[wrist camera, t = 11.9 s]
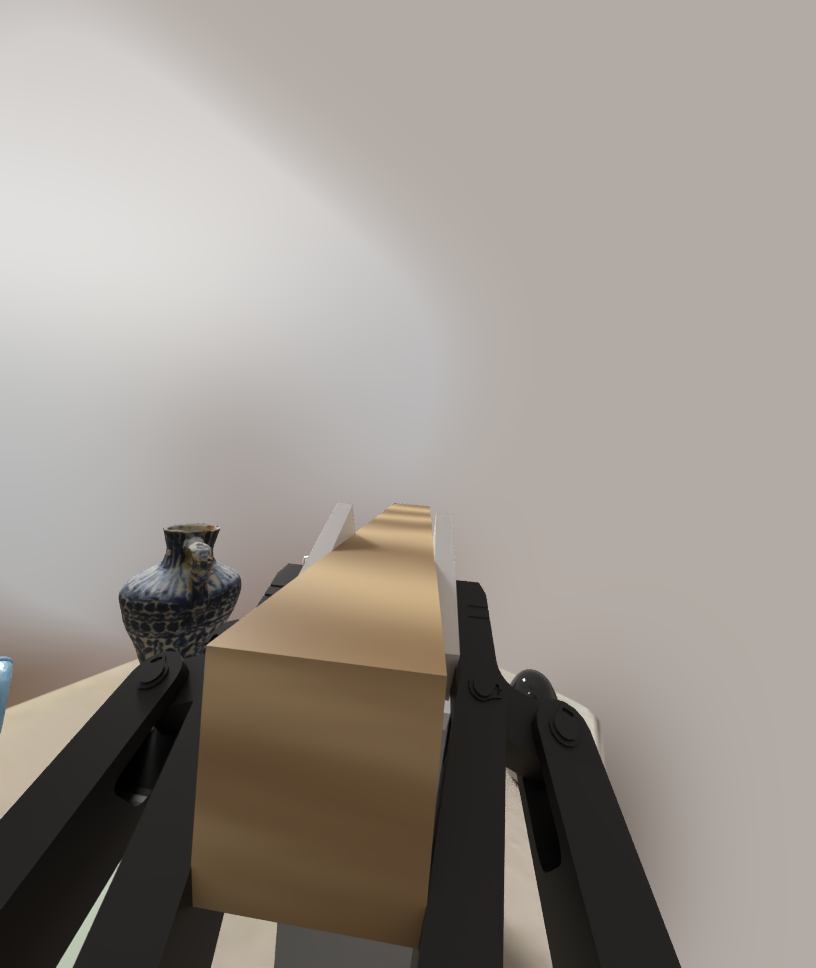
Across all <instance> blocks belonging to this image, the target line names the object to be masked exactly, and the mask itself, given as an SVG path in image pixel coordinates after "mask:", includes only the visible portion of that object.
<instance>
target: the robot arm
mask: <svg viewBox="0 0 816 968" xmlns="http://www.w3.org/2000/svg"><path fill="white" fill-rule="evenodd" d="M353 534H355V528H354V514H353V504H345V503H337V504H336V506H335V508H334V510H333V512H332V514H331V516H330V517H329V519H328V521H327V523H326V525H325V527H324V529H323V530H322V532H321V534H320V536H319V538H318V540H317V542H316V543H315V545H314V547H313V549H312V551H311V553H310V555H309V556H308V558H307V560H306V562H305V564H304V565H297V564H288V565H286V566H285V567H284V568H283V569H282V570H281V571H279V572H278V573H277V575H276V576H275V578H274V580H273V581H272V583H271V586H270V587H269V588H268V589H267V591H266V592H265V596H263V597H262V599H261V601H260V602H259V604H258V606H259V605H260V604H262V603H263V602H264V601H266V600H267V599H268V598H270V597H271V596H272V595H274V594H275V593H276V592H278V591H279V590H280V589H282V588H283V587H284V586H286V585H287V584H288V583H290V582H291V581H292V580H293V579H295V578H296V577H297V576H299V575H300V574H301V573H303V572H304V571H305V570H307V569H308V568H309V567H311V566H312V565H313V564H315V563H316V562H317V561H319V560H320V559H321V558H323V557H324V556H325V555H327V554H328V553H329V552H331V551H332V550H334V549H335V548H336V547H338V546H339V545H340V544H342V543H343V542H344V541H346V540H347V539H348V538H350V537H351V536H352V535H353ZM433 548H434V559H435V564H436V573H437V583H438V593H439V602H440V612H441V622H442V631H443V641H444V651H445V661H446V670H447V683H446V694H445V700H446V701H449V698H450V716H449V720H448V724H447V728H446V730H447V733H446V740H445V746H444V752H443V759H442V765H441V772H440V778H439V785H438V791H437V798H436V807H435V818H434V829H433V841H432V852H431V863H430V874H429V886H428V897H427V907H426V910H425V915H424V920H423V925H422V931H421V936H420V941H419V946H418V949H416V948H413V952H412V958H411V965H410V968H503V928H504V853H505V778H506V768H508V769H510V770H512V771H513V772H515V773H516V775H517V780H518V785H519V791H520V796H521V801H522V806H523V812H524V817H525V822H526V828H527V833H528V838H529V843H530V849H531V854H532V859H533V865H534V870H535V875H536V880H537V886H538V891H539V896H540V902H541V907H542V912H543V917H544V923H545V928H546V933H547V939H548V944H549V949H550V954H551V960H552V965H553V968H681V966H680V963H679V960H678V958H677V955H676V953H675V950H674V947H673V945H672V942H671V940H670V937H669V934H668V932H667V929H666V927H665V924H664V921H663V919H662V916H661V914H660V911H659V908H658V906H657V903H656V901H655V898H654V895H653V893H652V890H651V888H650V885H649V882H648V880H647V877H646V875H645V872H644V869H643V867H642V864H641V862H640V859H639V857H638V854H637V851H636V849H635V846H634V843H633V841H632V838H631V835H630V833H629V831H628V828H627V825H626V823H625V820H624V817H623V815H622V812H621V809H620V807H619V804H618V802H617V799H616V797H615V794H614V791H613V789H612V786H611V783H610V781H609V778H608V776H607V773H606V770H605V768H604V765H603V763H602V760H601V757H600V755H599V752H598V750H597V747H596V744H595V742H594V739H593V737H592V734H591V731H590V729H589V728H588V726H587V724H586V722H585V720H584V719H583V717H582V716H581V715H580V714H579V713H578V712H577V711H576V710H575V709H574V708H573V707H571V706H570V705H568V704H567V703H565V702H563V701H560V700H556V699H551V700H545V701H544V702H543V703H541V702H539V701H537V700H535V699H533V698H531V697H529V696H527V695H525V694H523V693H521V692H519V691H518V690H516V689H514V688H513V687H512V686H511V685H510V684H509V683H507V681H506V680H505V679H504V677H503V676H502V675H501V673H500V671H499V669H498V665H497V662H496V656H495V649H494V643H493V638H492V630H491V624H490V620H489V611H488V605H487V599H486V594H485V592H484V590H483V589H482V587H481V586H480V584H479V583H478V582H467V581H458V580H456V575H455V558H454V537H453V519H452V513H446V512H436V517H435V526H434V535H433ZM258 606H257V607H258ZM238 621H239V620H233V621H229V622H226V623H225V624H223V625H221V626H219V627H217V628H216V629H215V630H214V631H213V632H212V633H210V634H209V636H208V637H207V639H206V640H205V641H204V645H205V646H206V645H207V644H209V643H210V642H211V641H213V640H214V639H215V638H217V637H218V636H219V635H221V634H222V633H223V632H225V631H226V630H227V629H229V628H230V627H231V626H233V625H234V624H235V623H236V622H238ZM12 663H13V661H12V659H11V658H9V657H5V656H3V657H0V733H1V730H2V725H3V720H4V715H5V710H6V704H7V699H8V694H9V688H10V682H11V676H12ZM204 668H205V655H200V656H195V657H190V658H185V659H183V658H182V657H181V655H180V654H178V653H176V652H174V651H165V652H162V653H159V654H156V655H153V656H152V657H150V658H148V659H147V660H145V661H143V662H142V663H141V664H140V665H139V666H138V667H137V668H135V669H134V670H133V671H132V672H131V674H130V675H129V676H128V677H127V678H126V679H125V680H124V681H123V683H122V684H121V685H120V686H119V687H118V688H117V689H116V690H115V691H114V693H113V694H112V695H111V696H110V697H109V698H108V699H107V700H106V702H105V703H104V704H103V705H102V706H101V707H100V708H99V709H98V711H97V712H96V713H95V714H94V715H93V716H92V717H91V718H90V720H89V721H88V722H87V723H86V724H85V725H84V726H83V727H82V729H81V730H80V731H79V732H78V733H77V734H76V735H75V736H74V737H73V739H72V740H71V741H70V742H69V743H68V744H67V745H66V746H65V748H64V749H63V750H62V751H61V752H60V753H59V754H58V755H57V757H56V758H55V759H54V760H53V761H52V762H51V763H50V764H49V766H48V767H47V768H46V769H45V770H44V771H43V772H42V773H41V775H40V776H39V777H38V778H37V779H36V780H35V781H34V782H33V784H32V785H31V786H30V787H29V788H28V789H27V790H26V791H25V792H24V794H23V795H22V796H21V797H20V798H19V799H18V800H17V801H16V803H15V804H14V805H13V806H12V807H11V808H10V809H9V810H8V812H7V813H6V814H5V815H4V816H3V817H2V818H1V819H0V968H56V967H57V965H58V964H59V962H60V960H61V959H62V957H63V955H64V954H65V952H66V950H67V949H68V947H69V945H70V944H71V942H72V940H73V939H74V937H75V935H76V934H77V932H78V931H79V929H80V927H81V926H82V924H83V922H84V921H85V919H86V917H87V916H88V914H89V912H90V911H91V909H92V907H93V906H94V904H95V902H96V901H97V899H98V897H99V896H100V894H101V893H102V891H103V889H104V888H105V886H106V884H107V883H108V881H109V879H110V878H111V876H112V874H113V873H114V871H115V869H116V868H117V866H118V864H119V863H120V864H119V866H118V868H117V871H116V873H115V875H114V877H113V879H112V882H111V884H110V886H109V888H108V890H107V893H106V895H105V897H104V899H103V901H102V904H101V906H100V908H99V910H98V912H97V915H96V917H95V919H94V921H93V923H92V926H91V928H90V930H89V932H88V934H87V937H86V939H85V941H84V943H83V945H82V948H81V950H80V952H79V954H78V956H77V959H76V961H75V963H74V965H73V967H72V968H211V965H212V961H213V956H214V952H215V948H216V944H217V940H218V936H219V932H220V928H221V924H222V920H223V916H224V912H219V911H213V910H208V909H203V908H197V907H193V901H192V871H191V856H192V842H193V827H194V813H195V798H196V784H197V769H198V755H199V741H200V726H201V712H202V697H203V683H204ZM121 859H122V860H121ZM120 861H121V862H120Z"/></svg>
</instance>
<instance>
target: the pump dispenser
mask: <svg viewBox="0 0 816 968" xmlns="http://www.w3.org/2000/svg"><path fill="white" fill-rule="evenodd" d="M510 685H511V686H512V687H513V688H514V689H516V690H518V691H519V692H521V693H523V694H525V695H527V696H529V697H531V698H533V699H535V700H537V701H539V702H541V703H543V702H544V701H545V700H551V699H556V700H558V699H557V696H556V693H555V691H554V689H553V687H552V685H551V683H550V682H549V680H548V679H547V678H546V677H545V676H544V675H543V674H542V673H540V672H538V671H536V670H532V669H527V670H523V671H521V672H520V673H519V674H517V675H516V676H515V678H514V679H513V680H512V682H511V683H510ZM506 770H507V772H508V773H509V774H510V775H511V776H512V777H513V778H514V779H515V780H516V781H517V782H518V780H517V775H516V773H515V772H513V771H512V770H510V769H508V768H506Z"/></svg>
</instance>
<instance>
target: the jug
mask: <svg viewBox="0 0 816 968" xmlns="http://www.w3.org/2000/svg"><path fill="white" fill-rule="evenodd" d="M163 530H164V534H165V540H166V545H167V549H166V554H165V557H164V559H163V561H162V562H161V563H159V564H158V565H155V566H153V567H151V568H149V569H147V570H145V571H143V572H141V573H139V574H137V575H135V576H134V577H132V578H131V579H130V580H129V581H128V582H127V583H126V584H125V585H124V586H123V588H122V589H121V591H120V593H119V603H120V608H121V613H122V618H123V623H124V625H125V628H126V630H127V632H128V634H129V636H130V638H131V640H132V642H133V644H134V646H135V649H136V652H137V656H138V659H139V662H140V664H141V663H142V662H143V661H145V660H147V659H148V658H150V657H152V656H153V655H156V654H159V653H162V652H165V651H174V652H176V653H178V654H180V655H181V657H182V658H183V659H185V658H190V657H195V656H200V655H205V654H206V646H205V645H204V641H205V640H206V639H207V637H208V636H209V634H210V633H212V632H213V631H214V630H215V629H216V628H217V627H219V626H221V625H223V624H225V623H226V621H227V619H228V618H229V616H230V615H231V613H232V611H233V609H234V607H235V605H236V603H237V600H238V597H239V594H240V591H241V579H240V576H239V574H238V573H237V571H235V570H233V569H232V568H230V567H229V566H227V565H224V564H221V563H219V562H217V561H216V560H215V559H214V557H213V547H214V543H215V541H216V538H217V535H218V533H219V531H220V527H219V526H217V527H214V526H211V525H208V524H184V525H173V526H169V527H167V528H163Z"/></svg>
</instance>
